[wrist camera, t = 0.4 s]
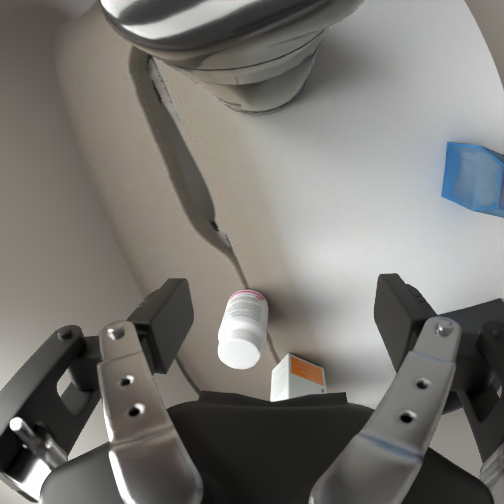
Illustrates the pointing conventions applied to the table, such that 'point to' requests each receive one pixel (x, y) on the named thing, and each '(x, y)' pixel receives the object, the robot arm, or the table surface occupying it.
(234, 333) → the pill bottle
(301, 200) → the table surface
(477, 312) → the open box
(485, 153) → the perfume bottle
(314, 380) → the cosmetic box
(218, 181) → the table surface
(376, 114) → the table surface
